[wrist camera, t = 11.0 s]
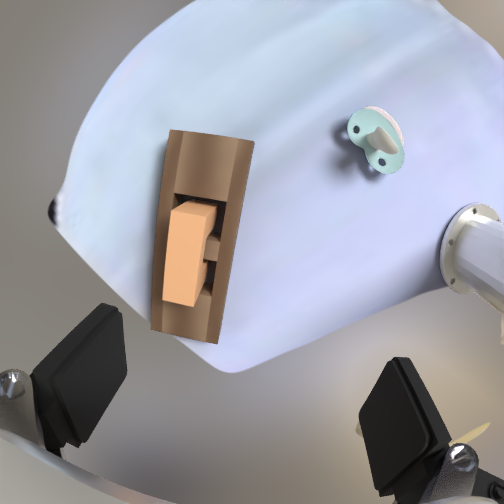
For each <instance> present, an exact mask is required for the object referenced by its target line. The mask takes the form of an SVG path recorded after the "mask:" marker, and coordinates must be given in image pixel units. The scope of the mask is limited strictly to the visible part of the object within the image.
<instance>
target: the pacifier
mask: <svg viewBox="0 0 504 504" xmlns="http://www.w3.org/2000/svg"><path fill="white" fill-rule="evenodd" d="M354 126H358V128H359V133H357V134H356V133H354V131H353V128H354ZM347 132H348V136H349V138H350V139H351V141H352V142H353V143H354V144H355V145H357V146H359V147H361V148H363V149H364V151H365V155H366V158H367V160H368V162H369V164H370V165H371V166H372V167H373V168H374V169H375V170H377V171H379V172H381V173H385V174H392V173H395V172H396V171H398V170H399V169H400V168H401V166H402V164H403V162H404V140H403V136H402V133H401V130H400V128H399V126H398V125H397V123H396V122H395V120H394V119H393V118H392V117H391V116H390V115H389V114H388V113H386V112H385V111H384V110H382V109H380V108H378V107H374V106H367V107H365V108H363V109H360V110H358V111H356V112H355V113H354V114H353V115H352V116H351V117H350V119H349V121H348V124H347ZM380 158H382V159H383V160H384V161H385V165H384V166H381V165H379V163H378V160H379V159H380Z"/></svg>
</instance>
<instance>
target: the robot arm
mask: <svg viewBox="0 0 504 504" xmlns="http://www.w3.org/2000/svg"><path fill="white" fill-rule="evenodd" d="M440 269H441V274H442V277H443V279H444V281H445V283H446V284H447V285H448V286H449V287H450V288H451V289H452V290H454V291H455V292H457V293H460V294H469V293H472V292H475V293H476V294H478V295H479V296H480V297H481V298H482V299H484V300H485V301H486V302H487V303H489V304H490V305H491V306H493V307H494V308H495V309H496V310H497V311H499V312H500V313H501V314H502V315H503V316H504V224H503V223H501V220H500V218H499V216H498V214H497V213H496V212H495V210H494V209H493V208H491V207H490V206H488V205H485V204H482V203H473V204H470V205H467V206H465V207H464V208H463V209H461V210H460V211H459V212H458V213H457V214H456V215H455V216H454V218H453V219H452V221H451V222H450V224H449V226H448V228H447V230H446V232H445V235H444V238H443V241H442V245H441V250H440ZM126 375H127V363H126V354H125V345H124V333H123V319H122V314H121V313H120V312H119V311H118V308H117V307H115V306H111V305H108V304H105V303H101V304H100V305H99V306H97V307H96V308H95V309H94V310H93V311H92V312H91V313H90V314H89V315H88V316H87V317H86V318H85V319H84V320H83V321H82V322H80V323H79V324H78V325H77V326H76V327H75V328H74V329H73V330H72V331H71V332H70V333H69V334H68V335H67V336H66V337H65V338H64V339H63V340H62V341H61V342H60V343H59V344H58V345H57V346H56V347H55V348H54V349H53V350H52V351H51V352H50V353H49V354H48V355H47V356H46V357H45V358H44V359H43V360H42V361H41V362H40V363H39V364H38V365H37V366H36V368H34V370H33V372H32V374H31V375H30V376H29V375H28V374H27V373H26V372H24V371H22V370H19V369H8V370H5V371H3V372H1V373H0V504H176V503H172V502H169V501H165V500H161V499H158V498H155V497H152V496H148V495H145V494H142V493H139V492H137V491H134V490H131V489H128V488H125V487H123V486H120V485H118V484H115V483H112V482H110V481H108V480H105V479H103V478H101V477H99V476H97V475H94V474H92V473H90V472H87V471H85V470H83V469H81V468H79V467H77V466H75V465H73V464H71V463H69V462H67V461H66V458H65V454H64V450H63V447H64V446H65V444H66V442H67V443H69V444H71V445H73V446H75V447H77V448H79V446H80V444H81V443H82V442H83V443H85V442H87V440H88V439H89V437H90V435H91V434H92V432H93V430H94V428H95V427H96V425H97V423H98V422H99V420H100V418H101V417H102V415H103V413H104V412H105V410H106V408H107V407H108V405H109V404H110V402H111V400H112V399H113V397H114V395H115V394H116V392H117V391H118V389H119V387H120V386H121V384H122V382H123V381H124V379H125V377H126ZM359 421H360V425H361V429H362V433H363V438H364V442H365V446H366V450H367V455H368V459H369V464H370V468H371V473H372V478H373V482H374V487H375V489H376V490H378V491H379V496H380V497H383V496H389V495H393V494H394V495H395V500H394V502H393V503H392V504H504V480H502V479H500V478H498V477H496V476H494V475H491V474H490V473H488V472H486V471H484V470H482V469H480V468H478V466H479V459H478V455H477V453H476V451H475V450H474V449H473V448H472V447H471V446H469V445H467V444H464V443H456V444H453V445H452V446H451V447H450V446H449V444H448V443H449V442H450V441H451V440H452V439H451V437H450V434H449V432H448V430H447V428H446V426H445V424H444V422H443V420H442V418H441V416H440V414H439V412H438V410H437V408H436V406H435V404H434V402H433V400H432V398H431V396H430V394H429V392H428V391H427V389H426V387H425V385H424V383H423V381H422V379H421V378H420V376H419V374H418V372H417V370H416V369H415V367H414V365H413V363H412V362H411V360H410V359H409V358H406V357H405V358H404V357H394V358H393V359H392V360H391V361H388V362H387V364H386V366H385V367H384V369H383V371H382V373H381V375H380V377H379V379H378V380H377V382H376V384H375V386H374V388H373V389H372V391H371V393H370V394H369V396H368V398H367V400H366V401H365V403H364V404H363V406H362V408H361V409H360V412H359Z"/></svg>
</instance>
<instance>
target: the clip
mask: <svg viewBox="0 0 504 504" xmlns="http://www.w3.org/2000/svg"><path fill="white" fill-rule="evenodd" d="M217 210H218V204H216V203H211V202H205V201H200V200H194V199H190V200H188V201H186V202H185V203H183V204H181V205H180V206H178V207H176V208H175V209H173V210H171V216H170V224H169V233H168V241H167V251H166V261H165V272H164V285H163V299H162V300H165V301H169V302H174V303H178V304H182V305H187V306H191V307H194V305H195V302H196V300H197V298H198V295H199V293H200V291H201V289H202V286H203V284H204V282H205V280H206V277H207V271H208V264H209V260H207V259H203V256H204V250H205V243H206V238H207V237H208V235H209V234H210V232H211V231H212V229H213V228H214V226H215V221H216V216H217Z"/></svg>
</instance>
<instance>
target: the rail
mask: <svg viewBox="0 0 504 504" xmlns="http://www.w3.org/2000/svg"><path fill="white" fill-rule="evenodd" d="M253 148H254V141H250V140H244V139H238V138H232V137H226V136H219V135H212V134H205V133H197V132H189V131H180V130H170V132H169V138H168V143H167V149H166V155H165V162H164V168H163V175H162V182H161V190H160V197H159V206H158V215H157V224H156V235H155V247H154V260H153V277H152V299H151V330H155V331H159V332H163V333H168V334H172V335H176V336H180V337H185V338H189V339H194V340H199V341H203V342H208V343H213V344H218V339H219V335H220V330H221V325H222V319H223V313H224V307H225V301H226V295H227V289H228V283H229V278H230V272H231V266H232V261H233V255H234V249H235V244H236V238H237V233H238V227H239V222H240V217H241V211H242V206H243V200H244V195H245V190H246V185H247V179H248V174H249V169H250V164H251V159H252V154H253ZM181 194H185V195H191V196H197V197H203V198H208V199H214V200H220V201H226V202H227V204H226V210H225V216H224V222H223V228H222V234H219V233H213V232H210V234H209V235H208V237H207V238H206V243H205V250H204V256H203V259H207V260H212V261H217V265H216V271H215V278H214V284H209V283H204V284H203V286H202V289H201V291H200V293H199V295H198V298H197V300H196V302H195V305H194V307H191V306H187V305H182V304H178V303H174V302H169V301H165V300H162V299H163V285H164V272H165V261H166V251H167V241H168V233H169V224H170V216H171V210H173V209H175V208H176V207H178V206H180V200H181Z"/></svg>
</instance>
